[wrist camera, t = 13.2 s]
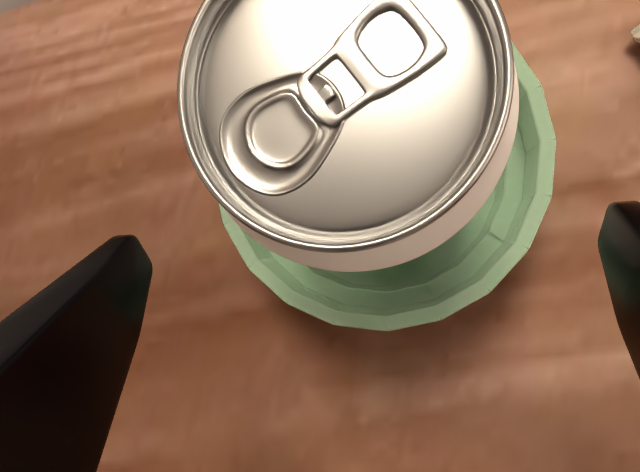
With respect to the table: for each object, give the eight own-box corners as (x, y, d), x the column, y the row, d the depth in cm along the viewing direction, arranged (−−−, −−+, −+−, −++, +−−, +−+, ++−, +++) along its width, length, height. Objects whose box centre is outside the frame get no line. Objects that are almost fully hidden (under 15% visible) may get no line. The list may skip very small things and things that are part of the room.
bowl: (568, 97, 19) (616, 52, 14) (455, 355, 20) (468, 387, 15) (312, 13, 21) (285, -50, 17) (217, 248, 22) (167, 249, 17)
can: (274, 167, 20) (88, 61, 9) (396, 69, 20) (373, -197, 8) (364, 291, 20) (295, 358, 8) (496, 194, 19) (641, 106, 7)
